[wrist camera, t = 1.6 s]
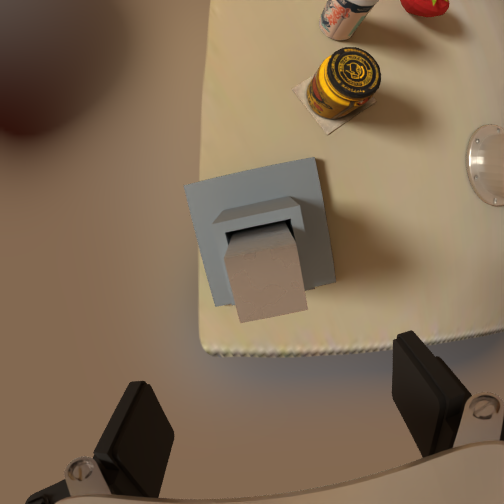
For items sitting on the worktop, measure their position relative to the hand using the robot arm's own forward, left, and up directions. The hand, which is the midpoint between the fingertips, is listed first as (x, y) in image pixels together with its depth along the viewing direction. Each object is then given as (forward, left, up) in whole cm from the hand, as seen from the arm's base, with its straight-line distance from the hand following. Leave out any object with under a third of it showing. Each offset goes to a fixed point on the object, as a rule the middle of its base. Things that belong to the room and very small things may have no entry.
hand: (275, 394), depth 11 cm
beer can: (+7, -29, -31) cm, 43 cm away
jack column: (0, 0, -29) cm, 29 cm away
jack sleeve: (0, 0, -30) cm, 30 cm away
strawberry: (0, -40, -31) cm, 50 cm away
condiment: (+2, -20, -31) cm, 37 cm away
